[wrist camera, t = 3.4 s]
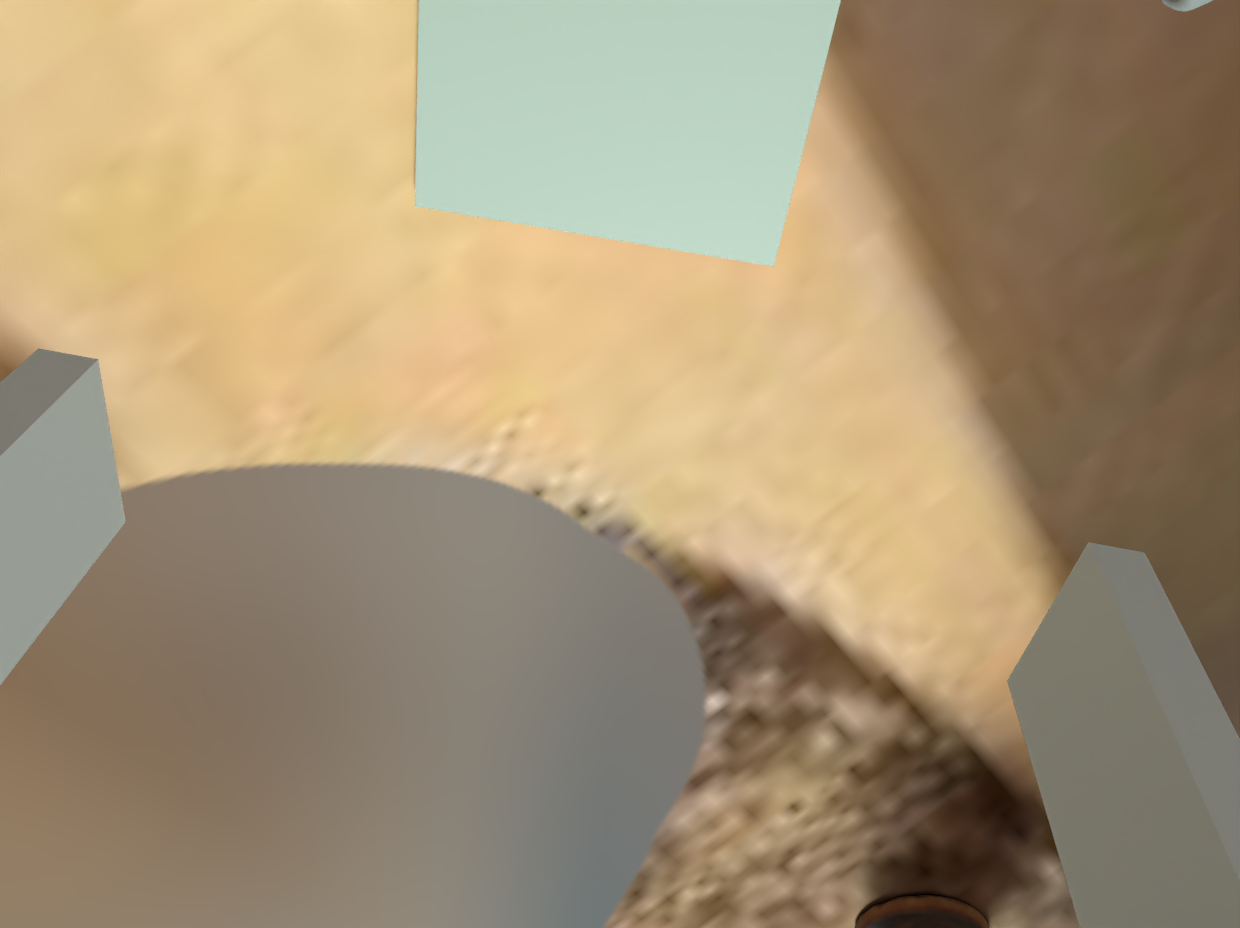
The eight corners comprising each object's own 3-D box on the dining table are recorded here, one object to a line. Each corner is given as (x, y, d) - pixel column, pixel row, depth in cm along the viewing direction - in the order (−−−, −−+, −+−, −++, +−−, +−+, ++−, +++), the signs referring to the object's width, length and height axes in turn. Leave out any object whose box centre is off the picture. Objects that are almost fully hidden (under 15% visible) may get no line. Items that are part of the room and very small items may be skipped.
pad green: (428, -234, 31) (422, -233, 30) (877, -156, 31) (879, -153, 30) (418, 200, 39) (413, 207, 39) (773, 259, 39) (773, 268, 39)
